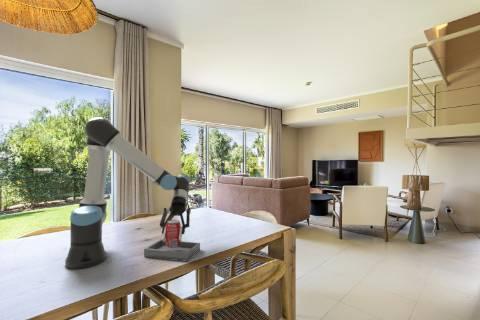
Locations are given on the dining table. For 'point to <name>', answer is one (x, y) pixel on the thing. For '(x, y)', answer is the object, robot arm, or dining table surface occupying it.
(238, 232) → the dining table surface
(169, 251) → the tray
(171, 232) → the soda can
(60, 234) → the dining table surface
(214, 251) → the dining table surface
